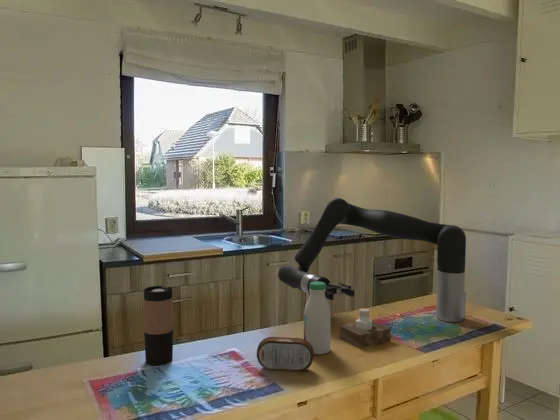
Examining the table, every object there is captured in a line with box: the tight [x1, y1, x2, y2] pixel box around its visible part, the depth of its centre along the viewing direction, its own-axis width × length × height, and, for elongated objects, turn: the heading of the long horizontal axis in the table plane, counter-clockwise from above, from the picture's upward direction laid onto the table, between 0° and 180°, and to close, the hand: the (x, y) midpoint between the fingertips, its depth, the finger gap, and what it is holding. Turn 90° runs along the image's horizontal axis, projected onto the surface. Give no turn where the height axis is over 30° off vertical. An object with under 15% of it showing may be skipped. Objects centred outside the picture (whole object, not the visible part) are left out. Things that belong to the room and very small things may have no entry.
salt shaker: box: [355, 308, 373, 331], centre depth 145 cm, size 4×4×10 cm
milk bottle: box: [303, 281, 331, 356], centre depth 136 cm, size 8×8×20 cm
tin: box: [256, 336, 315, 372], centre depth 123 cm, size 15×3×8 cm, turn 84°
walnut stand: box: [338, 320, 392, 349], centre depth 145 cm, size 12×10×4 cm
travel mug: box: [143, 285, 174, 367], centre depth 128 cm, size 8×8×20 cm
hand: (343, 295), depth 154 cm, fingers open, 8 cm apart
